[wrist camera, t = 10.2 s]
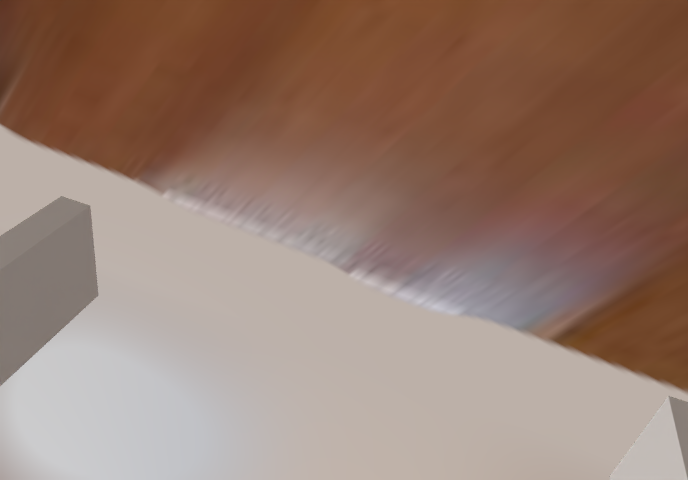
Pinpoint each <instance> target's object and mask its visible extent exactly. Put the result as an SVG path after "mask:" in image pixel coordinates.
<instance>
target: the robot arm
mask: <svg viewBox="0 0 688 480" xmlns="http://www.w3.org/2000/svg"><path fill="white" fill-rule="evenodd" d="M96 276H97V275H96V265H95V254H94V244H93V232H92V220H91V210H90V206H89V205H86V204H83V203H80V202H77V201H74V200H71V199H68V198H65V197H62V196H61V197H60V198H58V199H57V200H55V201H53V202H52V203H50V204H49V205H47V206H46V207H44V208H43V209H41V210H40V211H38V212H37V213H35V214H34V215H32V216H30V217H29V218H28V219H26V220H24V221H23V222H21V223H20V224H18V225H17V226H15V227H14V228H12V229H11V230H9V231H7V232H6V233H4V234H3V235H1V236H0V386H1V385H2V384H3V383H4V382H5V381H6V380H7V379H8V378H9V377H11V376H12V375H13V374H14V373H15V372H16V371H17V370H18V369H19V368H20V367H21V366H22V365H24V364H25V363H26V362H27V361H28V360H29V359H30V358H31V357H32V356H33V355H34V354H35V353H36V352H38V351H39V350H40V349H41V348H42V347H43V346H44V345H45V344H46V343H47V342H48V341H50V340H51V339H52V338H53V337H54V336H55V335H56V334H57V333H58V332H59V331H60V330H61V329H62V328H64V327H65V326H66V325H67V324H68V323H69V322H70V321H71V320H72V319H73V318H74V317H75V316H76V315H78V314H79V313H80V312H81V311H82V310H83V309H84V308H85V307H86V306H87V305H88V304H90V303H91V301H93V300H94V299H95V298H96V297H97V296H98V287H97V277H96ZM610 480H688V402H685V401H682V400H679V399H676V398H673V397H670V396H668V397H667V398H666V400H665V401H664V403H663V404H662V405H661V407H660V408H659V409H658V411H657V412H656V414H655V415H654V416H653V418H652V419H651V421H650V422H649V423H648V425H647V426H646V427H645V429H644V430H643V431H642V433H641V434H640V435H639V437H638V438H637V440H636V441H635V442H634V444H633V445H632V446H631V448H630V449H629V451H628V452H627V453H626V455H625V456H624V457H623V459H622V460H621V461H620V463H619V464H618V466H617V467H616V468H615V470H614V471H613V472H612V474H611V475H610Z"/></svg>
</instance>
